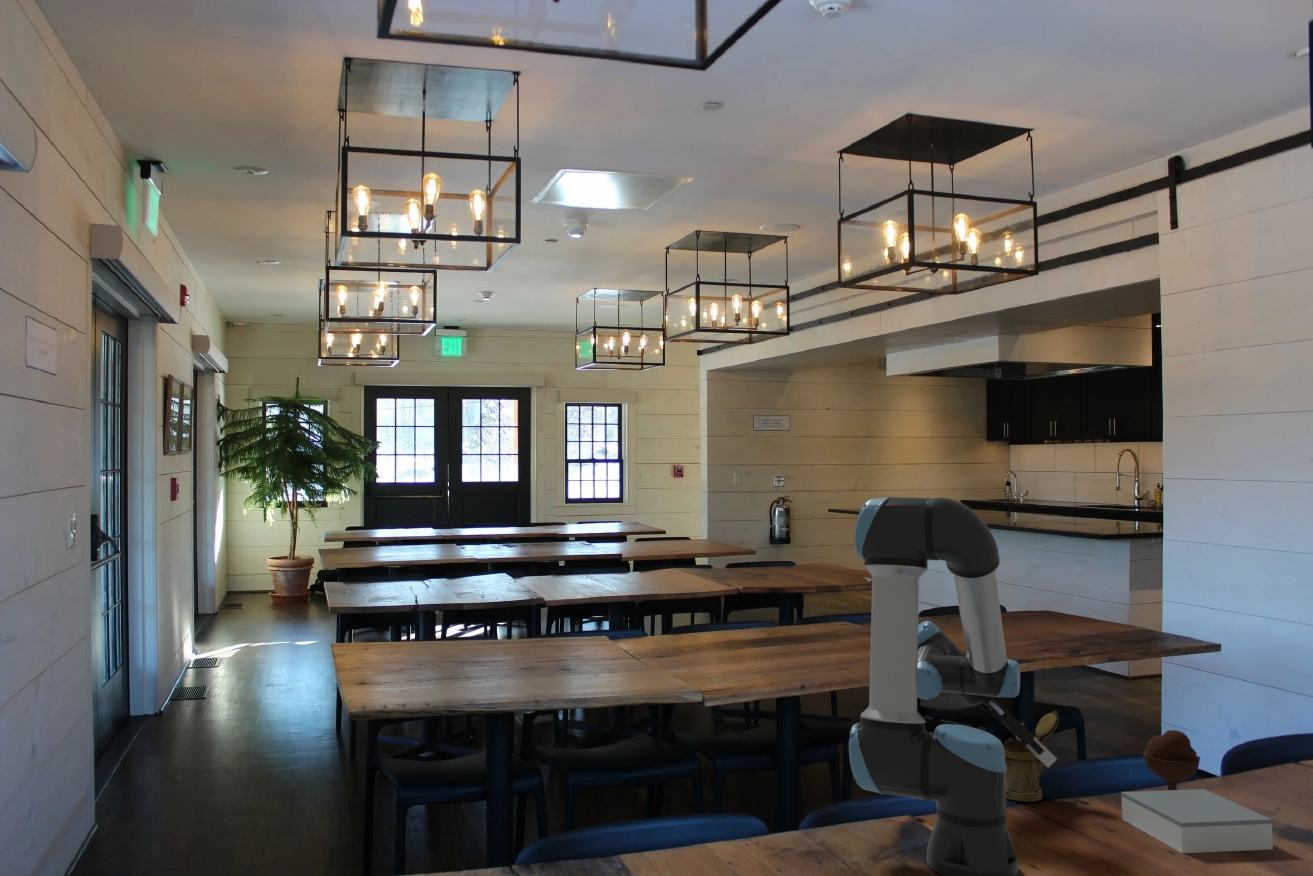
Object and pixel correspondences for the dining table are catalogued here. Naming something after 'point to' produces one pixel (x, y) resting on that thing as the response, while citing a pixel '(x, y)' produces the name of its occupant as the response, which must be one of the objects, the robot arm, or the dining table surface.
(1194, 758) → the ice cream bowl
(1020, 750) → the wooden mug
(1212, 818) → the grey flat block
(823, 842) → the dining table surface
